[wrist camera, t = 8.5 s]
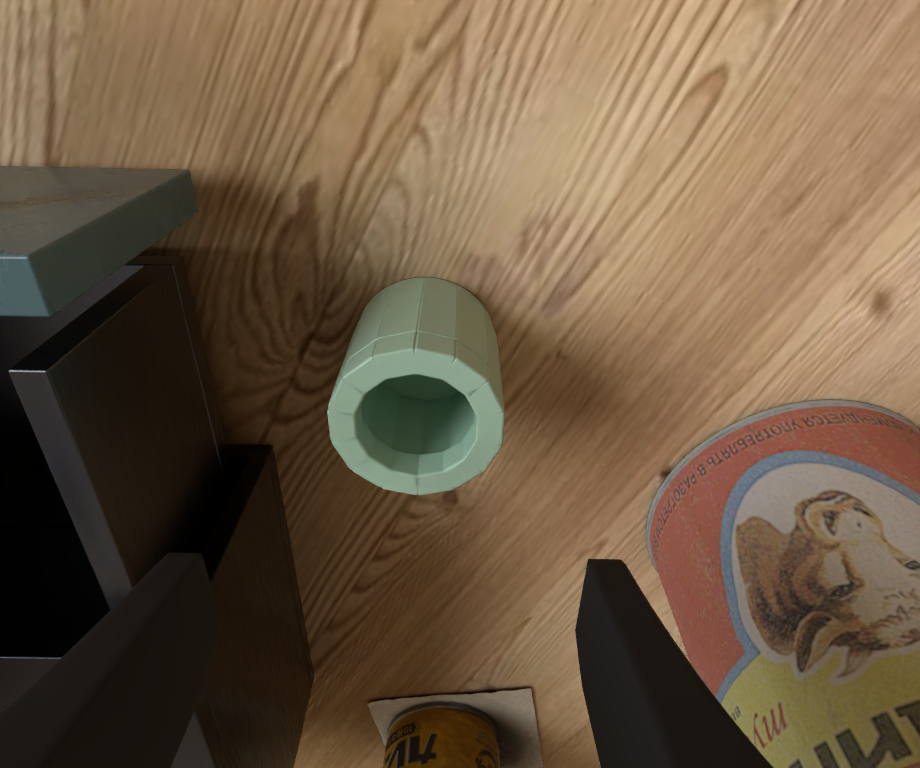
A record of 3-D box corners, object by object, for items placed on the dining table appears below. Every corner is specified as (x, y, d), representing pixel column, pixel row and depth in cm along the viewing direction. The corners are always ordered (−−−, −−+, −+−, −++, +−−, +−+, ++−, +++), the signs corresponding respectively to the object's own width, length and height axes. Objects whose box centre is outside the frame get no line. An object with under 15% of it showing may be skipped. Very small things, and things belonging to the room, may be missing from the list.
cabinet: (-59, 439, 22) (-326, 652, 15) (273, 444, 23) (176, 659, 15) (65, 673, 30) (-71, 895, 22) (314, 676, 30) (263, 899, 22)
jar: (361, 401, 22) (336, 495, 17) (351, 274, 19) (318, 346, 15) (492, 403, 22) (499, 497, 17) (498, 276, 19) (509, 349, 15)
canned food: (898, 344, 20) (1347, 676, 10) (963, 544, 25) (1311, 907, 15) (597, 486, 24) (703, 846, 13) (706, 639, 28) (846, 991, 18)
